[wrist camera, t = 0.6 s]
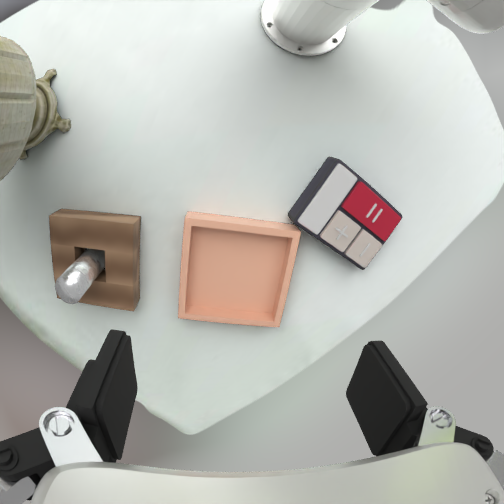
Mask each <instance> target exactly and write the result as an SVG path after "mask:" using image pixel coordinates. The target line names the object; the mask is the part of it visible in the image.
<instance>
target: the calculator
mask: <svg viewBox="0 0 504 504" xmlns="http://www.w3.org/2000/svg"><path fill="white" fill-rule="evenodd" d="M288 216H289V218H290V219H291V220H292V221H293V222H294V223H295V224H296V225H297V226H299V227H300V228H302V229H303V230H305V231H306V232H308V233H309V234H311V235H312V236H314V237H315V238H317V239H318V240H320V241H321V242H323V243H324V244H326V245H327V246H329V247H330V248H331V249H333V250H334V251H336V252H337V253H339V254H340V255H342V256H343V257H345V258H346V259H347V260H349V261H350V262H352V263H353V264H355V265H356V266H357V267H359V268H360V269H362V270H364V269H365V268H366V267H367V265H368V264H369V263H370V261H371V260H372V259H373V257H374V256H375V255H376V253H377V252H378V251H379V249H380V248H381V247H382V245H383V244H384V243H385V241H386V240H387V239H388V237H389V236H390V234H391V233H392V232H393V230H394V229H395V227H396V226H397V225H398V223H399V222H400V220H401V219H402V215H401V213H399V212H398V211H397V210H396V209H395V208H394V207H393V206H392V205H391V204H390V203H389V202H388V201H387V200H386V199H385V198H383V197H382V196H381V195H380V194H379V193H378V192H377V191H376V190H375V189H374V188H372V187H371V186H370V185H369V184H368V183H367V182H366V181H364V180H363V179H362V178H361V177H360V176H359V175H358V174H356V173H355V172H354V171H353V170H352V169H350V168H349V167H348V166H347V165H346V164H345V163H343V162H342V161H341V160H339V159H336V158H333V157H328V158H327V159H326V161H325V162H324V163H323V165H322V166H321V168H320V169H319V170H318V172H317V173H316V175H315V176H314V178H313V179H312V180H311V182H310V183H309V185H308V186H307V187H306V189H305V190H304V192H303V193H302V194H301V196H300V197H299V199H298V200H297V201H296V203H295V204H294V206H293V207H292V208H291V210H290V211H289V213H288Z"/></svg>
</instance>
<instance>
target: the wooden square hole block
mask: <svg viewBox="0 0 504 504" xmlns="http://www.w3.org/2000/svg"><path fill="white" fill-rule="evenodd" d="M49 224H50V240H51V252H52V262H53V271H54V279H55V283H56V280H57V279H58V278H59V277H60V276H61V275H62V274H63V273H64V272H65V271H66V270H67V269H68V268H69V267H70V266H71V265H72V264H73V263H74V262H75V261H76V260H77V259H78V258H79V257H80V256H81V255H82V254H83V253H84V252H85V248H89V249H97V250H105V270H102V271H101V272H100V274H99V275H98V276H97V278H96V279H95V280H94V281H93V283H92V284H91V285H90V287H89V288H88V289H87V291H86V292H85V293H84V295H83V296H82V297H81V299H80V300H79V301H78V302H80V303H86V304H92V305H97V306H103V307H109V308H115V309H122V310H128V311H134V310H135V308H136V306H137V303H138V301H139V299H140V282H139V265H140V225H141V216H133V215H123V214H113V213H102V212H92V211H81V210H69V209H60V210H58V211H56V212H55V213H53V214H51V215H49ZM56 293H57V292H56ZM57 298H59V299H61V298H60V297H59V296H58V294H57Z"/></svg>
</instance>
